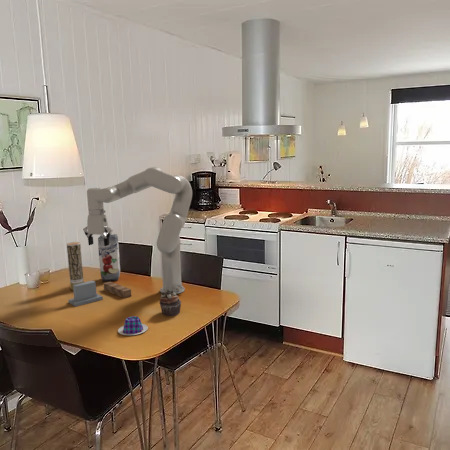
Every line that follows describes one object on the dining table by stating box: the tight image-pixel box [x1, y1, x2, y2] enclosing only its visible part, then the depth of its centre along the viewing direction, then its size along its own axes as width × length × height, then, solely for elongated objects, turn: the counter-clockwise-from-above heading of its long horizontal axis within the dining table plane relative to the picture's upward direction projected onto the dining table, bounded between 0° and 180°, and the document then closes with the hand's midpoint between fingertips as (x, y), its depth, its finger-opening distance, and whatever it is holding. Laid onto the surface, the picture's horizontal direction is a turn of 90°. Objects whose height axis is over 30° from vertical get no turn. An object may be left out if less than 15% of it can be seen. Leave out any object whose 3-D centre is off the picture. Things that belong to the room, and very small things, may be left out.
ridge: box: [67, 280, 104, 308], centre depth 212 cm, size 8×14×9 cm, turn 131°
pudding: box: [117, 315, 149, 336], centre depth 176 cm, size 12×12×5 cm
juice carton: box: [97, 233, 121, 282], centre depth 245 cm, size 9×10×27 cm
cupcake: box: [159, 290, 182, 317], centre depth 193 cm, size 10×10×10 cm
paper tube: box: [66, 241, 84, 291], centre depth 230 cm, size 7×7×25 cm
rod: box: [103, 281, 132, 299], centre depth 223 cm, size 20×4×4 cm, turn 45°
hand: (98, 245), depth 223 cm, fingers open, 9 cm apart
